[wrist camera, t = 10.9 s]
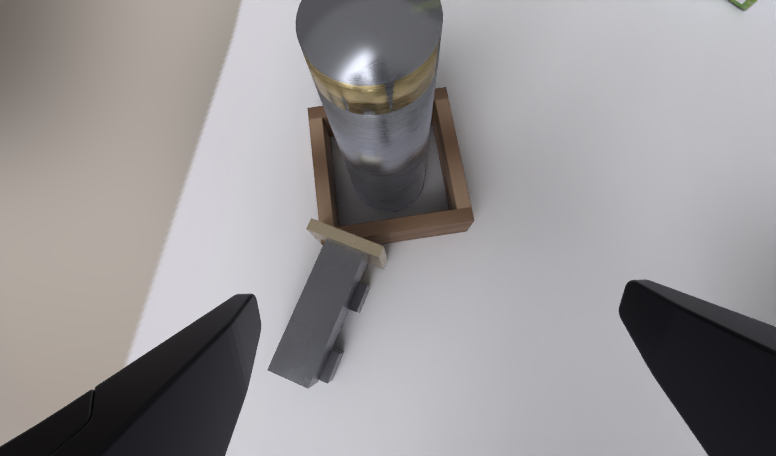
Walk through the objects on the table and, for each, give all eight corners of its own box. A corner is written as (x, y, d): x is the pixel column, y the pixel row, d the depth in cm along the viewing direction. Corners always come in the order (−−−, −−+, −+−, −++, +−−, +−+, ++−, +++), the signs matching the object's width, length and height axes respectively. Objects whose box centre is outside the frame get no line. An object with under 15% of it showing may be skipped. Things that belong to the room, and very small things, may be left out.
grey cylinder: (409, 222, 23) (411, 100, 11) (342, 197, 24) (270, 56, 11) (433, 159, 24) (463, -20, 12) (369, 137, 25) (331, -55, 12)
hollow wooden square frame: (466, 231, 23) (474, 220, 21) (329, 251, 23) (320, 243, 21) (441, 109, 25) (446, 87, 23) (316, 128, 25) (307, 108, 23)
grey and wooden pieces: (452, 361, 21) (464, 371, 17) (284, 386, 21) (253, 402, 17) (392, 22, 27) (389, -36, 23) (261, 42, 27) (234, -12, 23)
